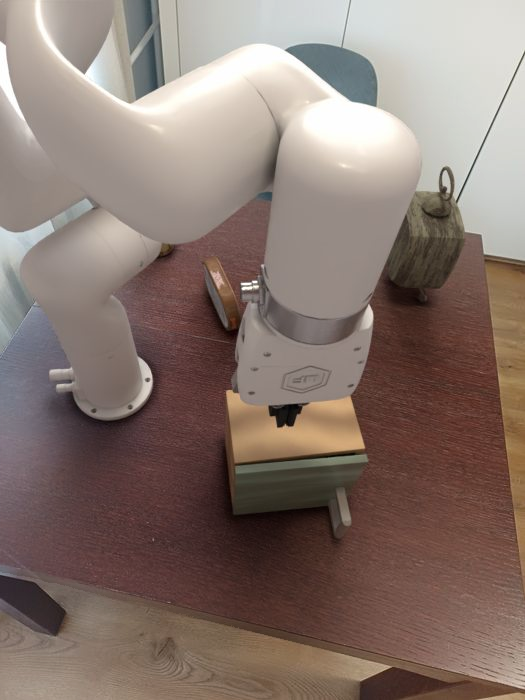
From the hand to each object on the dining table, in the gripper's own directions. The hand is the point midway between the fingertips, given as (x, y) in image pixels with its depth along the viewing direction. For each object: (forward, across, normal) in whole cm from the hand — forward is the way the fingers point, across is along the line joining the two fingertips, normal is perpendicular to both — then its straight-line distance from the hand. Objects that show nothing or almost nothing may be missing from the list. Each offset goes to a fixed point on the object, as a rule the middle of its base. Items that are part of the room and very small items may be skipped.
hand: (282, 413), depth 49 cm
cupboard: (+27, +4, +4) cm, 28 cm away
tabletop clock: (+28, +34, +41) cm, 60 cm away
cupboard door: (+27, +4, -4) cm, 27 cm away
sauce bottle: (+29, -14, +53) cm, 62 cm away
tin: (+28, -2, +36) cm, 46 cm away
